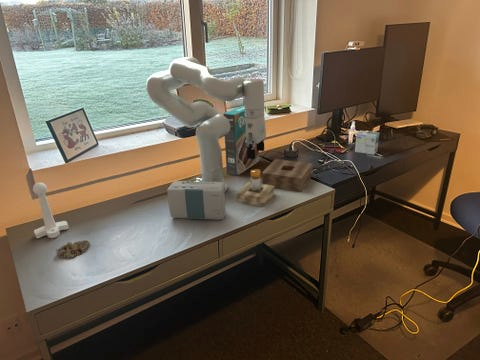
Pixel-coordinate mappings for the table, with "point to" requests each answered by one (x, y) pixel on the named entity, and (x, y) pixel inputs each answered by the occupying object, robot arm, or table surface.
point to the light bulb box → (367, 142)
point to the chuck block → (287, 175)
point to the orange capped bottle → (255, 181)
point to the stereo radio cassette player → (197, 199)
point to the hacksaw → (326, 168)
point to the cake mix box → (237, 143)
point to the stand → (255, 195)
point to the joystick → (47, 215)
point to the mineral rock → (73, 249)
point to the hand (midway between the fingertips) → (255, 154)
